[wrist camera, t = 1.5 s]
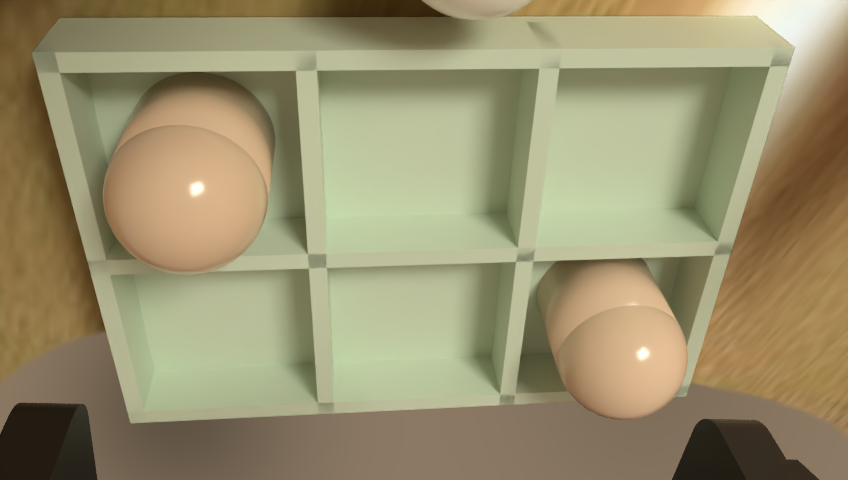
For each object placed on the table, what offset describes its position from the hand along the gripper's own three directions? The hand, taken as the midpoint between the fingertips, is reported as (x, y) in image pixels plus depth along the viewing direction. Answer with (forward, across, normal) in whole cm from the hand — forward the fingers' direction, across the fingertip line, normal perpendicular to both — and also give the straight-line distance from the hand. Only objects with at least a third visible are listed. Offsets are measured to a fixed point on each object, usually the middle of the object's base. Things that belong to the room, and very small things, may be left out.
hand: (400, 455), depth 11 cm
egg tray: (+18, -3, +7) cm, 19 cm away
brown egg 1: (+17, +5, +4) cm, 18 cm away
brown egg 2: (+17, -10, +10) cm, 22 cm away
